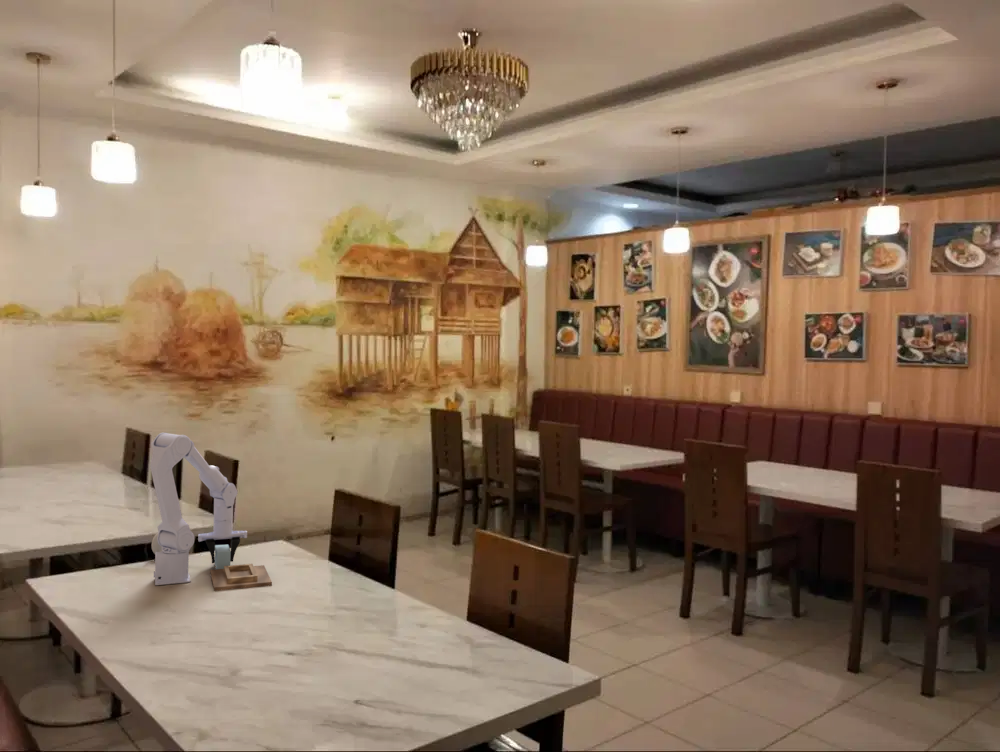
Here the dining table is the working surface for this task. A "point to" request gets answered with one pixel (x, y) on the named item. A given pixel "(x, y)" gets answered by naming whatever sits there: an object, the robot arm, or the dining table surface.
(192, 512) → the dining table surface
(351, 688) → the dining table surface
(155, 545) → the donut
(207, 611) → the dining table surface
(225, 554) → the tall light blue prism
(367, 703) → the dining table surface
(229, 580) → the cradle
